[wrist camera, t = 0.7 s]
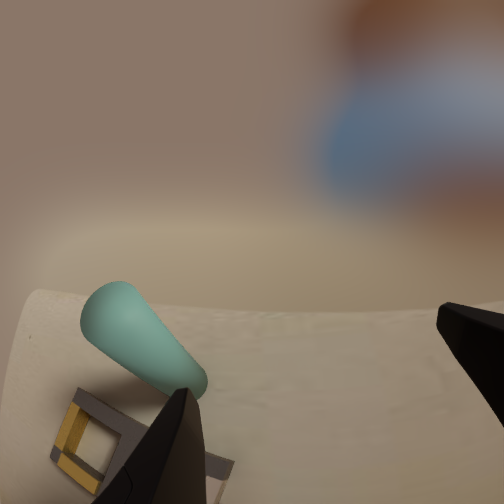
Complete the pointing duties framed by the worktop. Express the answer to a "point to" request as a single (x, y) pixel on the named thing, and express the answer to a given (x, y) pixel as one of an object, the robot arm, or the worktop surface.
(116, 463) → the socket plate
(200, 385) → the plug
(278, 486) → the worktop surface
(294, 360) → the worktop surface
